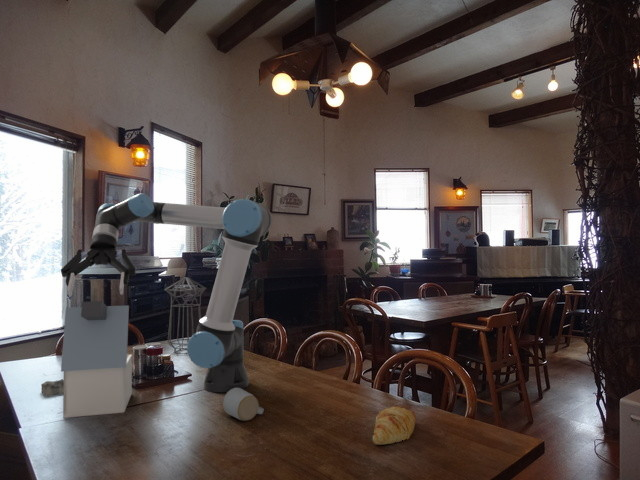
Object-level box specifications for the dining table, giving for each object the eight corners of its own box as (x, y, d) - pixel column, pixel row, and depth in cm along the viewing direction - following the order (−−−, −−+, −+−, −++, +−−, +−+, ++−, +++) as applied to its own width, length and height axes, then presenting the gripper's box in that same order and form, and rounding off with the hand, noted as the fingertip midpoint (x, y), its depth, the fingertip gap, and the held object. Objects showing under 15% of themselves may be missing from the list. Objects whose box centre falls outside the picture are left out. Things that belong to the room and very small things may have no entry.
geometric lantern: (162, 354, 211) (162, 277, 213) (178, 348, 226) (178, 277, 228) (194, 355, 208) (194, 277, 210) (208, 349, 224) (208, 276, 226)
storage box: (77, 398, 148) (78, 357, 148) (131, 394, 152) (131, 354, 152) (63, 417, 130) (63, 371, 131) (124, 412, 135) (124, 367, 135)
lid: (66, 307, 135) (57, 302, 126) (128, 305, 140) (124, 300, 131) (61, 371, 130) (52, 370, 121) (126, 367, 135) (122, 366, 126)
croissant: (386, 466, 108) (400, 439, 106) (352, 437, 113) (366, 411, 111) (420, 434, 126) (433, 411, 124) (390, 410, 131) (402, 388, 129)
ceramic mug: (238, 425, 125) (238, 396, 125) (222, 417, 130) (222, 389, 131) (269, 416, 132) (270, 389, 132) (253, 409, 138) (253, 383, 138)
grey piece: (41, 397, 150) (42, 385, 150) (40, 392, 156) (40, 379, 156) (78, 392, 156) (78, 379, 156) (76, 386, 162) (76, 374, 162)
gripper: (146, 249, 154) (142, 299, 139) (63, 249, 147) (49, 302, 132) (145, 233, 149) (141, 282, 134) (58, 232, 142) (44, 284, 127)
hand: (95, 292), depth 133 cm, fingers open, 13 cm apart
